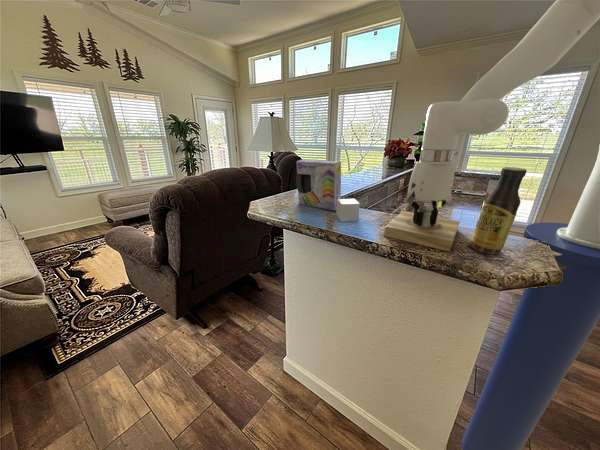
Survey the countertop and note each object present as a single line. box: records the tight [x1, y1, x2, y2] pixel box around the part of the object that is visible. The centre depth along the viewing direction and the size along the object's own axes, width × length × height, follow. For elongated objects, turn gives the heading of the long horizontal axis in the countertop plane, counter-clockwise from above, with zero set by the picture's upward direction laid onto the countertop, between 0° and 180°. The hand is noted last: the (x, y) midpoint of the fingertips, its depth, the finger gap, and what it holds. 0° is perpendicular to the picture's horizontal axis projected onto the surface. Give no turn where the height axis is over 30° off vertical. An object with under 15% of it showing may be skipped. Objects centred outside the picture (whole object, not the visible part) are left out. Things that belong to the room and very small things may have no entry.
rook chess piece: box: [416, 203, 433, 227], centre depth 66 cm, size 4×4×8 cm
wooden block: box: [384, 210, 461, 253], centre depth 67 cm, size 16×16×3 cm
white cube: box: [335, 197, 361, 223], centre depth 79 cm, size 6×6×6 cm
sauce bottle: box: [470, 166, 528, 255], centre depth 54 cm, size 7×6×20 cm
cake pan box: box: [295, 158, 342, 212], centre depth 90 cm, size 19×5×18 cm, turn 48°
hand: (423, 222), depth 66 cm, fingers closed on rook chess piece, 3 cm apart
